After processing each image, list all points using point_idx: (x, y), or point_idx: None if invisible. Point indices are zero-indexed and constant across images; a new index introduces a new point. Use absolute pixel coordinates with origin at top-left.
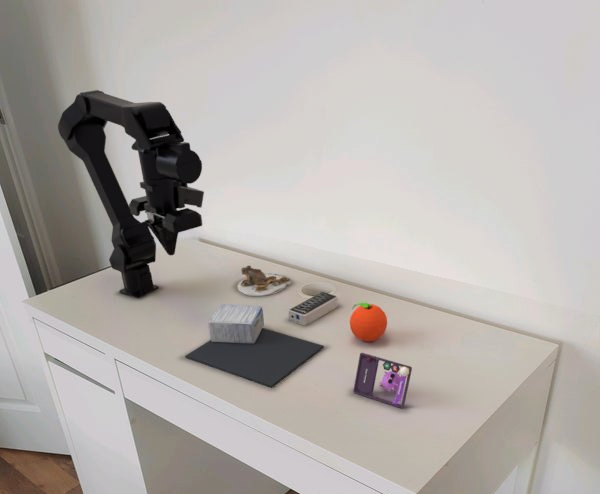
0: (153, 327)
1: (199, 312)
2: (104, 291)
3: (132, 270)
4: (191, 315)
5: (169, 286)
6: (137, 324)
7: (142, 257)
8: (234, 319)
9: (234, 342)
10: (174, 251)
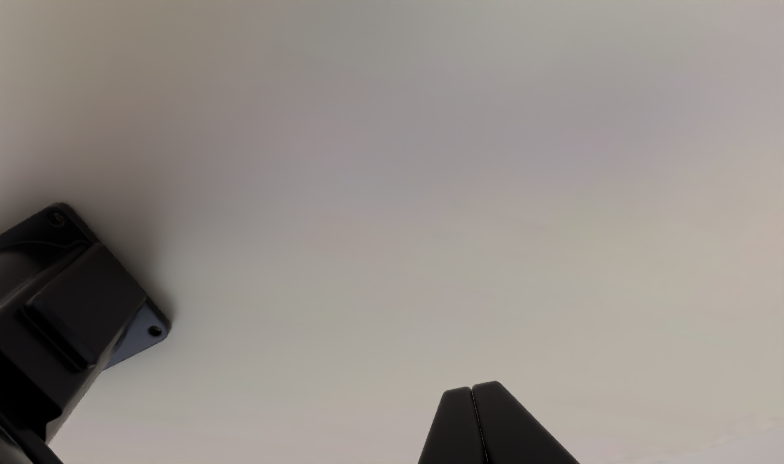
0: (553, 336)
1: (544, 83)
2: None
3: (48, 436)
4: (551, 139)
5: (46, 131)
6: (475, 384)
7: (14, 456)
8: None
9: None
10: (518, 406)
